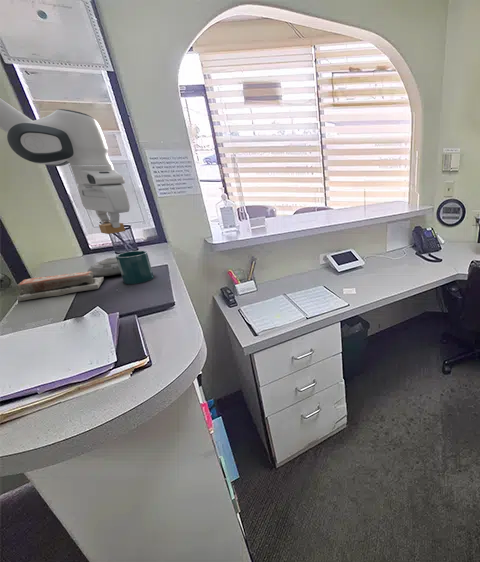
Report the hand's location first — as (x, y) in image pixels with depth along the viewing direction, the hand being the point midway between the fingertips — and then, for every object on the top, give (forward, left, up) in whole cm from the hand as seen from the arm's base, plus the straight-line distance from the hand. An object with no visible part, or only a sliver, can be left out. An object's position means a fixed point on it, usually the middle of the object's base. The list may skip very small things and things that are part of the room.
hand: (111, 226), depth 90 cm
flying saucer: (+5, +22, -20) cm, 30 cm away
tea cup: (+5, +6, -19) cm, 21 cm away
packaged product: (-11, +16, -20) cm, 27 cm away
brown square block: (0, 0, -2) cm, 2 cm away
